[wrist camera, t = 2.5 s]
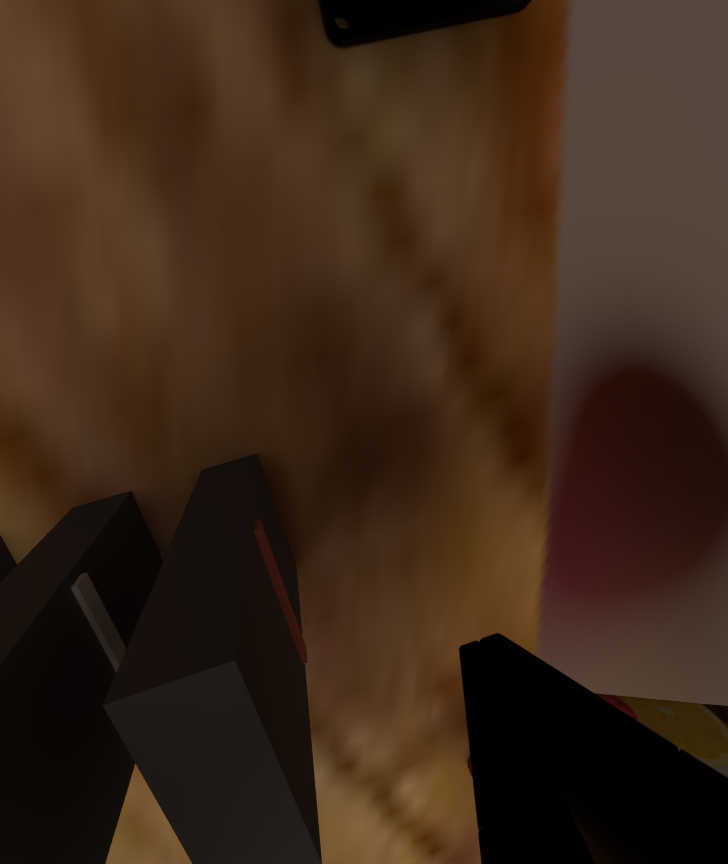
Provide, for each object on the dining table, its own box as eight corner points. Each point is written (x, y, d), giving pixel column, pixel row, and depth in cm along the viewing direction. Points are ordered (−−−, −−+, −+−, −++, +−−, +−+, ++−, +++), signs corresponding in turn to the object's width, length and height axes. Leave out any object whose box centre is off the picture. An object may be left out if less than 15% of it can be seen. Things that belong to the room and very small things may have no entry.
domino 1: (135, 489, 16) (-66, 762, 7) (186, 604, 18) (83, 958, 8) (72, 508, 16) (-229, 818, 6) (130, 622, 17) (-43, 1008, 8)
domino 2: (260, 452, 16) (244, 656, 7) (300, 567, 18) (329, 861, 9) (201, 470, 16) (102, 705, 7) (246, 585, 18) (216, 906, 8)
